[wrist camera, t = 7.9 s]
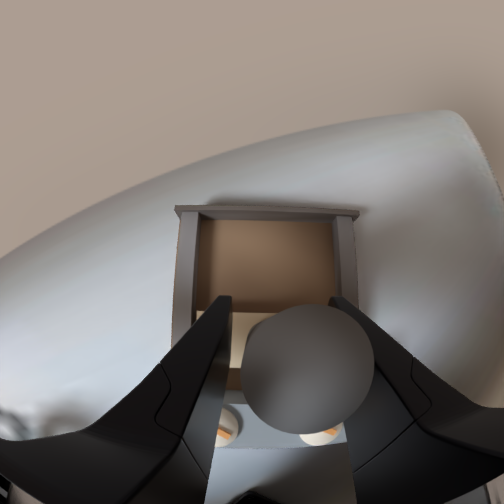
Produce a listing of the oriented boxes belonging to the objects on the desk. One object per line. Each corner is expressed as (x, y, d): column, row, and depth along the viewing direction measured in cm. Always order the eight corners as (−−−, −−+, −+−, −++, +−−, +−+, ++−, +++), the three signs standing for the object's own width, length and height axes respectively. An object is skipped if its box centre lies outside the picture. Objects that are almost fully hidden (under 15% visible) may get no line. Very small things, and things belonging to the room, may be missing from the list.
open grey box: (347, 417, 14) (361, 428, 12) (176, 417, 14) (164, 430, 12) (346, 225, 18) (359, 210, 16) (184, 221, 18) (174, 205, 16)
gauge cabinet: (347, 417, 14) (375, 440, 10) (175, 417, 14) (153, 443, 10) (350, 382, 15) (380, 396, 11) (175, 381, 15) (151, 398, 11)
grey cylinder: (330, 363, 14) (471, 410, 4) (198, 363, 14) (92, 429, 3) (331, 313, 15) (474, 275, 4) (200, 312, 15) (93, 271, 4)
